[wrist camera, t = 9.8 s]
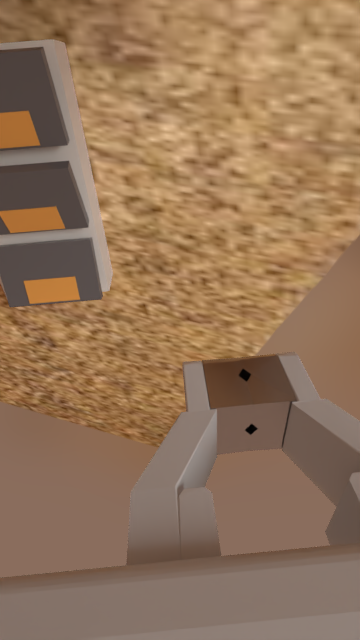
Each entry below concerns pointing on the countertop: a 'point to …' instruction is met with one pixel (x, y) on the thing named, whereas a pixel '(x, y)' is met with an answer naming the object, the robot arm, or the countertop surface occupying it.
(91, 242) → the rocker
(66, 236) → the rocker switch box
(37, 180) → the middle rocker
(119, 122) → the countertop surface
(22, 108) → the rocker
